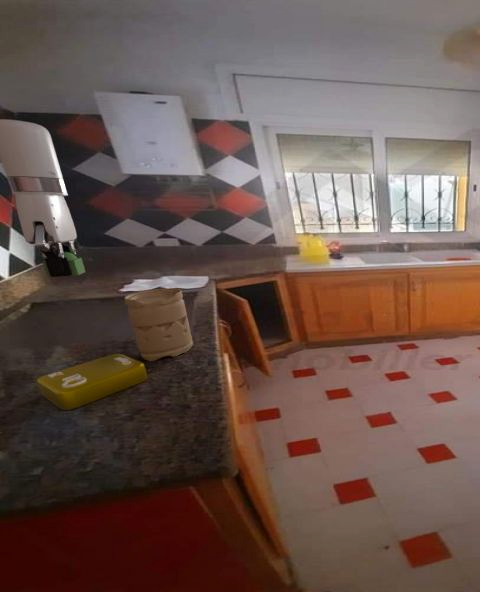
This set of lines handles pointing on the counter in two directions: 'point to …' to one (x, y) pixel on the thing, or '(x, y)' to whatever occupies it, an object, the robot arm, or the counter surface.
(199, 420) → the counter surface
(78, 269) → the toy
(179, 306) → the container
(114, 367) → the element tile
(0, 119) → the robot arm
